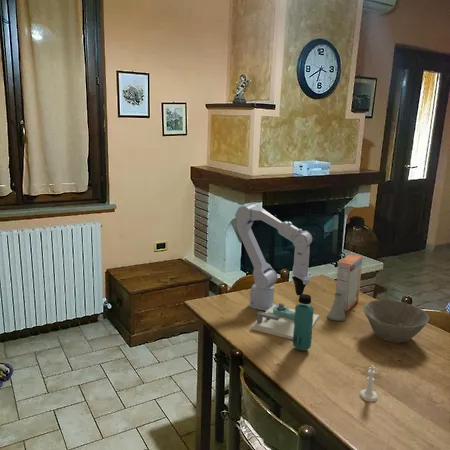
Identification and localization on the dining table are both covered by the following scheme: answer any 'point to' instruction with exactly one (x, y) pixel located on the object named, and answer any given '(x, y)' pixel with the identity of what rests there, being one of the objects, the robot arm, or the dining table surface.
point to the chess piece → (369, 387)
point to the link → (284, 312)
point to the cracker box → (349, 280)
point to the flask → (337, 309)
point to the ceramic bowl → (395, 319)
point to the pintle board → (277, 323)
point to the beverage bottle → (303, 323)
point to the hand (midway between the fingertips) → (299, 294)
